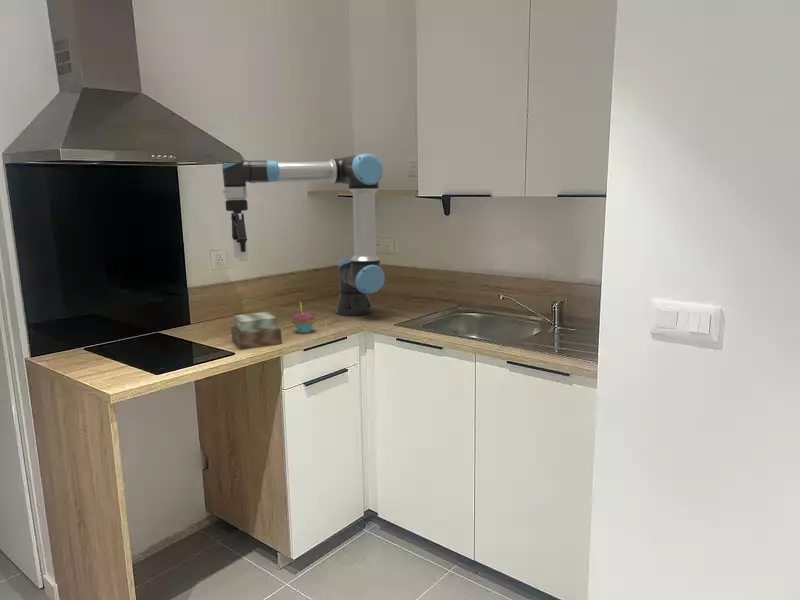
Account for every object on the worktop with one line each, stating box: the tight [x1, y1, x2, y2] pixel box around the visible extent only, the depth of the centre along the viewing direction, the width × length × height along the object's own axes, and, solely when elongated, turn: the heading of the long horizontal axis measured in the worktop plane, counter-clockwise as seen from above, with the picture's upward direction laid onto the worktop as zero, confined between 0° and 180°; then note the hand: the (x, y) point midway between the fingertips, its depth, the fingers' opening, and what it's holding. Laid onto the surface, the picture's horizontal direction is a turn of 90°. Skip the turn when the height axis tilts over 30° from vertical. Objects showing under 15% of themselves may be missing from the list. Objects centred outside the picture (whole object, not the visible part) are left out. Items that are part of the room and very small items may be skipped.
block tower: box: [230, 311, 283, 350], centre depth 199 cm, size 14×14×9 cm
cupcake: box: [291, 300, 316, 334], centre depth 213 cm, size 9×8×12 cm
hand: (240, 259), depth 208 cm, fingers open, 13 cm apart
